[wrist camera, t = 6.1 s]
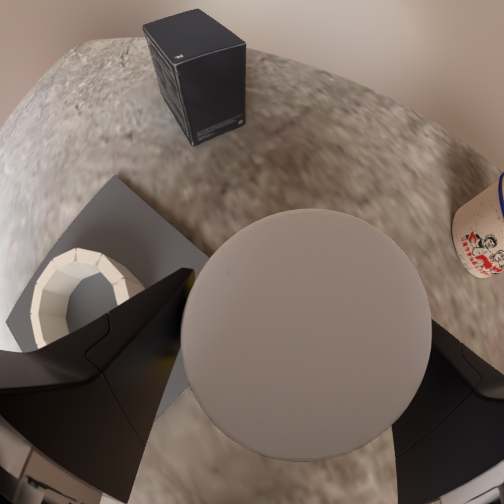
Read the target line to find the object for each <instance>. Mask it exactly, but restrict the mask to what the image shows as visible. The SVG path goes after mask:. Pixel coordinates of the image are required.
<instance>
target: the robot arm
mask: <svg viewBox="0 0 504 504" xmlns="http://www.w3.org/2000/svg"><path fill="white" fill-rule="evenodd" d="M194 283H195V271H194V269H192V268H185V267H182V268H180V269H178V270H176V271H175V272H173V273H171V274H170V275H168V276H166V277H165V278H163V279H161V280H160V281H158V282H156V283H155V284H153V285H151V286H150V287H148V288H146V289H145V290H143V291H141V292H140V293H138V294H136V295H135V296H133V297H131V298H130V299H128V300H126V301H125V302H123V303H121V304H120V305H118V306H116V307H115V308H113V309H112V310H110V311H108V313H105V314H103V315H102V316H100V317H98V318H97V319H95V320H93V321H92V322H90V323H88V324H86V325H85V326H83V327H81V328H79V329H77V330H75V331H73V332H71V333H69V334H67V335H65V336H63V337H61V338H59V339H57V340H55V341H53V342H51V343H50V344H48V345H46V346H44V347H42V348H39V349H37V350H34V351H31V352H22V353H20V352H11V351H4V350H0V504H100V501H101V497H102V495H103V496H106V497H108V498H111V499H113V500H116V501H119V502H121V503H124V504H127V503H128V500H129V497H130V494H131V490H132V487H133V484H134V481H135V478H136V474H137V471H138V468H139V465H140V462H141V459H142V456H143V453H144V450H145V446H146V443H147V440H148V437H149V434H150V431H151V428H152V425H153V422H154V420H155V417H156V414H157V411H158V408H159V405H160V402H161V400H162V397H163V394H164V391H165V388H166V386H167V383H168V380H169V377H170V374H171V372H172V369H173V366H174V364H175V361H176V358H177V355H178V353H179V350H180V347H181V322H182V315H183V311H184V307H185V304H186V301H187V298H188V296H189V293H190V291H191V289H192V287H193V285H194ZM431 324H432V338H431V350H430V355H429V360H428V364H427V367H426V371H425V374H424V377H423V379H422V382H421V384H420V386H419V388H418V390H417V392H416V394H415V395H414V397H413V399H412V400H411V402H410V404H409V405H408V407H407V408H406V409H405V411H404V412H403V413H402V414H401V416H400V417H399V418H398V419H397V420H396V421H395V422H394V423H393V424H392V425H391V426H392V433H393V441H394V450H395V458H396V459H395V461H396V473H397V487H398V504H430V503H432V502H435V501H438V500H440V504H504V375H503V374H502V373H500V372H499V371H498V370H496V369H495V368H494V367H492V366H491V365H490V364H488V363H487V362H486V361H484V360H483V359H482V358H480V357H479V356H478V355H476V354H475V353H474V352H473V351H471V350H470V349H469V348H468V347H467V346H465V345H464V344H463V343H460V341H459V340H458V339H457V338H455V337H454V336H453V335H452V334H450V333H449V332H448V331H447V330H445V329H444V328H443V327H442V326H440V325H439V324H438V323H436V322H435V321H434V320H433V319H431Z"/></svg>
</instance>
